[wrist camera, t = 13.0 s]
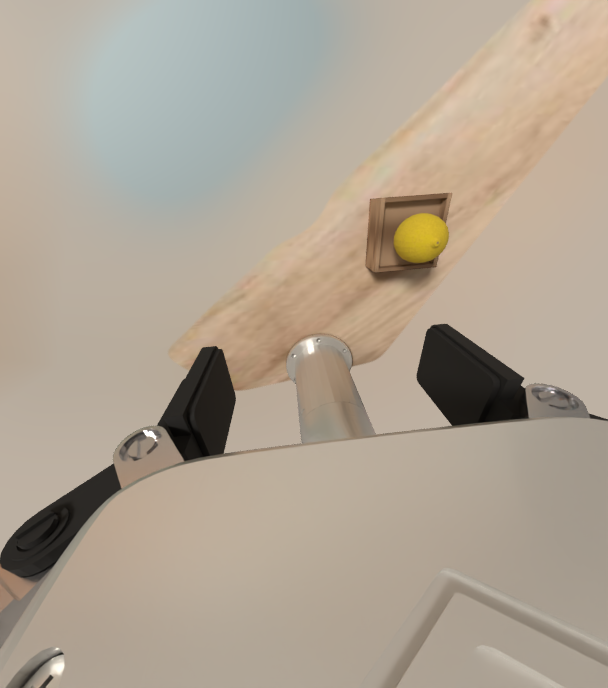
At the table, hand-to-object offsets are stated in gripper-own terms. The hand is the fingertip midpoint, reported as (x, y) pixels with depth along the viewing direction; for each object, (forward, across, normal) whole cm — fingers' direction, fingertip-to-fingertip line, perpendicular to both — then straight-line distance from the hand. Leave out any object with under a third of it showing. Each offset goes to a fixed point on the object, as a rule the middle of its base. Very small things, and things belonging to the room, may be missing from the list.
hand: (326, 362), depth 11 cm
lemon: (+26, -15, -2) cm, 30 cm away
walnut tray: (+28, -16, -2) cm, 32 cm away
